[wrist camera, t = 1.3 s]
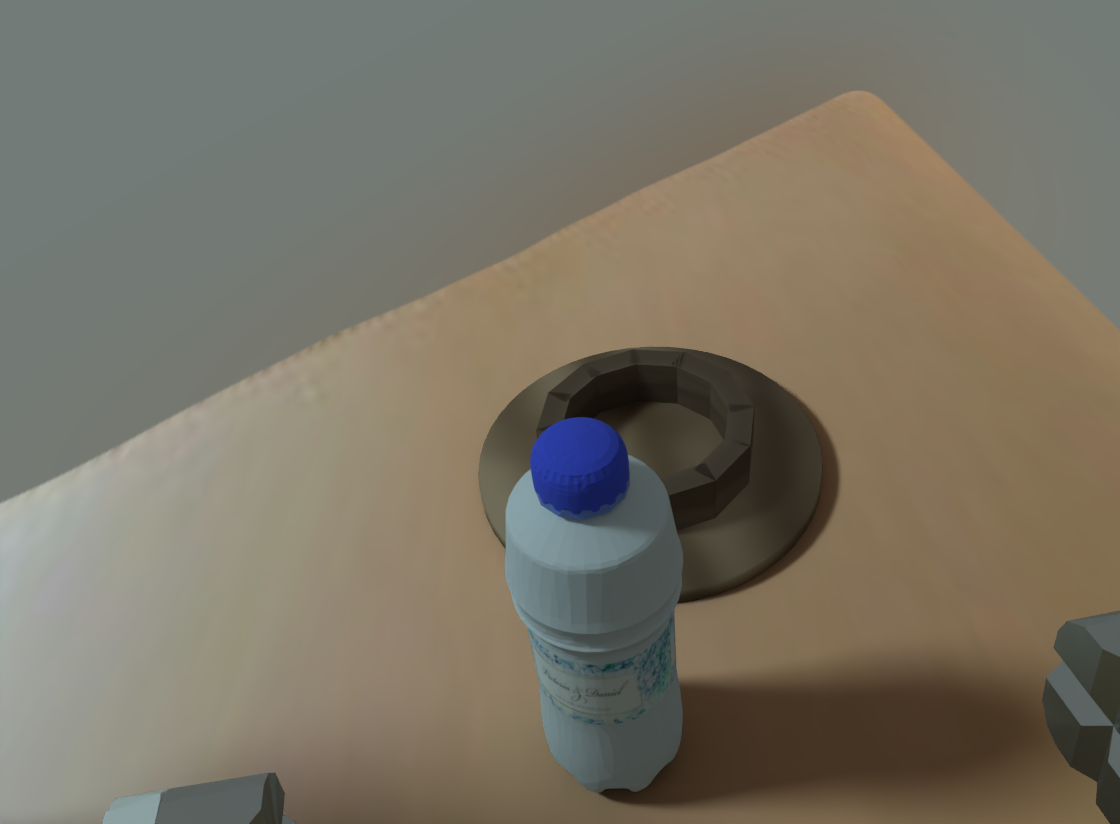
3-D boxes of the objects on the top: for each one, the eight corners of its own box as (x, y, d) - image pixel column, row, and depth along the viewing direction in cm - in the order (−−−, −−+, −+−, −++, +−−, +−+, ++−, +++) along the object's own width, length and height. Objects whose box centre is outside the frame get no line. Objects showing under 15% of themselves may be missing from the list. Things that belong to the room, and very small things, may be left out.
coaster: (537, 654, 51) (528, 607, 48) (446, 409, 66) (435, 362, 63) (889, 535, 54) (899, 484, 52) (729, 327, 69) (730, 279, 66)
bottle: (521, 783, 46) (443, 485, 33) (577, 663, 51) (529, 357, 37) (660, 834, 44) (638, 536, 30) (707, 704, 48) (705, 393, 35)
